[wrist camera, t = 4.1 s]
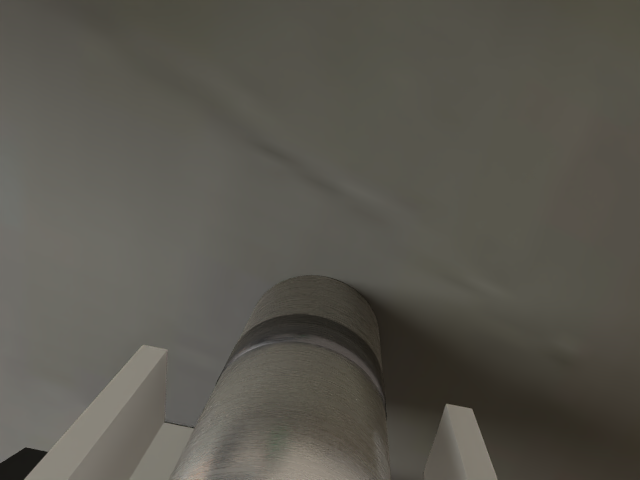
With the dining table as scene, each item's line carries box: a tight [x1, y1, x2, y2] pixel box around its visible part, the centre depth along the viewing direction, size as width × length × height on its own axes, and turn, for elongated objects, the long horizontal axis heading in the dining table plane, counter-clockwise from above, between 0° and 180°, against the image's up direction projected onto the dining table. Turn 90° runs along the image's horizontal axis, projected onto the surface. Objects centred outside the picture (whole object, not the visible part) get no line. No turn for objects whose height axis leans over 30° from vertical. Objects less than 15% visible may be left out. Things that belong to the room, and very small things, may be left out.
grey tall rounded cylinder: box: [169, 275, 391, 480], centre depth 11 cm, size 5×5×12 cm
